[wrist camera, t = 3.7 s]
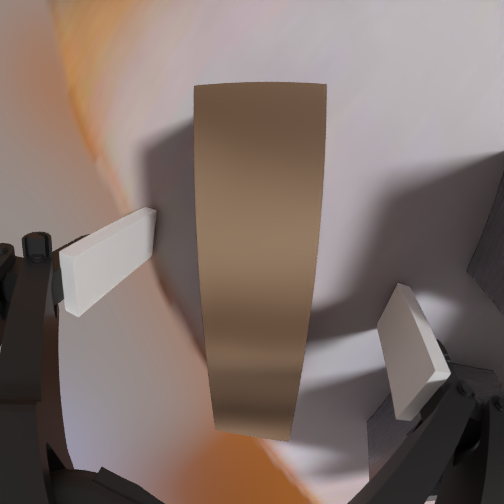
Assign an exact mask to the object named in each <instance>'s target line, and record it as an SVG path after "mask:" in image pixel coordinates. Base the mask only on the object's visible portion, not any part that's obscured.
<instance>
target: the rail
mask: <svg viewBox="0 0 504 504" xmlns="http://www.w3.org/2000/svg"><path fill="white" fill-rule="evenodd" d="M326 101H327V84H316V83H295V82H243V83H222V84H208V85H197V86H194V180H195V210H196V232H197V250H198V266H199V281H200V294H201V306H202V318H203V329H204V339H205V349H206V359H207V368H208V376H209V385H210V393H211V401H212V408H213V416H214V423H215V429H216V430H220V431H225V432H230V433H235V434H241V435H247V436H252V437H258V438H265V439H272V440H280V441H289V436H290V431H291V427H292V422H293V417H294V411H295V406H296V401H297V395H298V390H299V384H300V379H301V373H302V367H303V360H304V354H305V348H306V341H307V334H308V327H309V320H310V313H311V305H312V298H313V289H314V281H315V272H316V263H317V253H318V243H319V232H320V221H321V208H322V195H323V179H324V162H325V139H326Z"/></svg>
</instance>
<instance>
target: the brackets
mask: <svg viewBox="0 0 504 504" xmlns="http://www.w3.org/2000/svg"><path fill="white" fill-rule="evenodd" d="M467 272H468V273H469V274H470V276H471V277H472V278H473V279H474V280H475V281H476V282H477V283H478V285H479V286H480V287H481V288H482V289H483V290H484V292H485V293H486V294H487V295H488V296H489V298H490V299H491V300H492V301H493V302H494V304H495V305H496V306H497V307H498V309H499V310H500V311H501V312H502V314H503V315H504V172H503V176H502V179H501V183H500V186H499V189H498V192H497V196H496V199H495V202H494V205H493V208H492V210H491V213H490V216H489V219H488V221H487V224H486V227H485V229H484V232H483V234H482V237H481V239H480V242H479V244H478V246H477V249H476V251H475V253H474V256H473V258H472V260H471V262H470V264H469V267H468V269H467ZM452 365H453V367H454V369H455V372H456V374H457V377H458V379H459V380H463V381H465V382H467V383H468V384H469V385H470V386H471V387H472V388H473V389H474V391H475V393H476V399H478V400H480V401H482V402H485V403H486V402H487V401H488V400H489V398H490V397H491V396H493V395H497V396H500V397H501V398H503V399H504V391H503V389H502V387H501V385H500V383H499V381H498V379H497V377H496V375H495V373H494V371H491V370H485V369H480V368H474V367H469V366H463V365H458V364H453V363H452ZM420 420H421V414H420V412H419V413H418V414H417V415H416V416H415V417H414V418H413V420H412V421H406V420H398V419H396V417H395V411H394V405H393V399H392V394H390V395H389V396H388V397H387V399H386V400H385V401H384V402H383V404H382V405H381V406H380V407H379V409H378V410H377V411H376V412H375V413H374V414H373V416H372V417H371V418H370V419H369V420H368V421H367V429H368V448H369V481H370V480H371V479H372V478H373V477H374V476H375V475H376V474H377V473H378V471H379V470H380V469H381V468H382V467H383V466H384V465H385V463H386V462H387V461H388V460H389V459H390V457H391V456H392V455H393V454H394V453H395V451H396V450H397V449H398V448H399V446H400V445H401V444H402V443H403V441H404V440H405V439H406V437H407V436H406V434H407V433H408V432H409V431H410V430H411V429H412V428H413V427H414V426H415V425H416V424H417V423H418V422H419V421H420ZM443 474H444V471H443V473H442V475H441V477H440V479H439V480H438V482H437V484H436V485H435V487H434V489H433V490H432V492H431V494H430V495H429V497H428V498H427V500H426V501H433V500H436V498H437V495H438V492H439V488H440V485H441V482H442V478H443Z"/></svg>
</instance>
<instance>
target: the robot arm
mask: <svg viewBox="0 0 504 504" xmlns="http://www.w3.org/2000/svg"><path fill="white" fill-rule="evenodd" d="M156 214H157V210H154V209H151V208H147V207H144V208H141V209H139V210H137V211H135V212H133V213H131V214H129V215H127V216H125V217H123V218H121V219H119V220H117V221H115V222H113V223H111V224H109V225H107V226H105V227H103V228H102V229H100V230H98V231H96V232H94V233H92V234H88V235H84V236H81V237H79V238H77V239H75V240H74V241H72V242H70V243H68V244H66V245H64V246H63V247H61V248H59V249H57V250H55V251H53V252H52V241H51V235H49V234H48V233H45V232H32V233H29V234H27V235H25V236H24V237H23V238H22V248H23V256H24V258H22V257H17V256H15V252H14V247H13V246H12V245H11V244H6V243H1V244H0V346H1V352H0V504H164V503H163V502H161V501H160V500H158V499H157V498H155V497H154V496H153V495H151V494H150V493H148V492H147V491H146V490H144V489H143V488H142V487H140V486H139V485H137V484H135V483H133V482H131V481H128V480H127V479H124V478H122V477H120V476H118V475H116V474H115V473H113V472H111V471H109V470H107V469H105V468H103V467H101V469H100V470H99V472H98V473H96V472H90V471H86V470H77V469H74V467H73V464H72V461H71V458H70V456H69V453H68V449H67V444H66V438H65V432H64V424H63V416H62V407H61V396H60V383H59V359H58V326H59V306H58V303H59V302H61V301H62V300H63V299H64V304H65V310H66V311H67V312H69V313H71V314H73V315H75V316H76V317H80V316H81V315H82V314H83V313H84V312H85V311H87V310H88V309H89V308H90V307H91V306H92V305H93V304H95V303H96V302H97V301H98V300H99V299H100V298H102V297H103V296H104V295H105V294H106V293H107V292H109V291H110V290H111V289H112V288H113V287H115V286H116V285H117V284H118V283H119V282H121V281H122V280H123V279H124V278H125V277H127V276H128V275H129V274H130V273H132V272H133V271H134V270H135V269H136V268H138V267H139V266H140V265H141V264H143V263H144V262H145V261H146V260H148V259H149V258H150V257H151V256H152V250H153V240H154V231H155V222H156ZM377 329H378V333H379V338H380V342H381V346H382V350H383V355H384V359H385V364H386V369H387V373H388V378H389V383H390V389H391V394H392V399H393V405H394V411H395V417H396V419H398V420H406V421H412V420H413V418H414V417H415V416H416V415H417V414H418V413H419V412H420V414H421V420H420V421H419V422H418V423H417V424H416V425H415V426H414V427H413V428H412V429H411V430H410V431H409V432H408V433H407V434H406V436H407V437H406V439H405V440H404V441H403V443H402V444H401V445H400V446H399V448H398V449H397V450H396V451H395V453H394V454H393V455H392V456H391V457H390V459H389V460H388V461H387V462H386V463H385V465H384V466H383V467H382V468H381V469H380V470H379V471H378V473H377V474H376V475H375V476H374V477H373V478H372V479H371V480H370V481H369V482H368V483H367V484H366V485H365V487H364V488H363V489H362V490H361V491H360V492H359V493H358V494H357V495H356V496H355V497H354V498H353V499H352V500H351V501H350V502H349V503H347V504H424V503H425V502H426V500H427V498H428V497H429V495H430V494H431V492H432V490H433V489H434V487H435V485H436V484H437V482H438V480H439V479H440V477H441V475H442V473H443V471H444V474H443V478H442V482H441V485H440V488H439V492H438V495H437V498H436V501H435V504H504V399H503V398H501V397H500V396H497V395H493V396H491V397H490V398H489V400H488V401H487V402H486V403H485V402H482V401H480V400H478V399H476V393H475V391H474V389H473V388H472V387H471V386H470V385H469V384H468V383H467V382H465V381H463V380H459V379H458V377H457V374H456V372H455V369H454V367H453V365H452V363H451V362H450V361H451V360H450V358H449V356H448V354H447V351H446V349H445V347H444V346H443V345H442V344H441V342H440V341H439V340H438V339H436V338H435V336H434V334H433V332H432V330H431V328H430V325H429V323H428V321H427V319H426V317H425V315H424V313H423V311H422V309H421V307H420V305H419V303H418V301H417V300H416V298H415V296H414V294H413V292H412V290H411V288H410V287H409V286H406V285H403V284H400V283H397V285H396V287H395V289H394V291H393V294H392V296H391V298H390V300H389V302H388V304H387V306H386V308H385V310H384V311H383V313H382V315H381V317H380V319H379V321H378V323H377ZM1 344H2V345H1Z"/></svg>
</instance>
